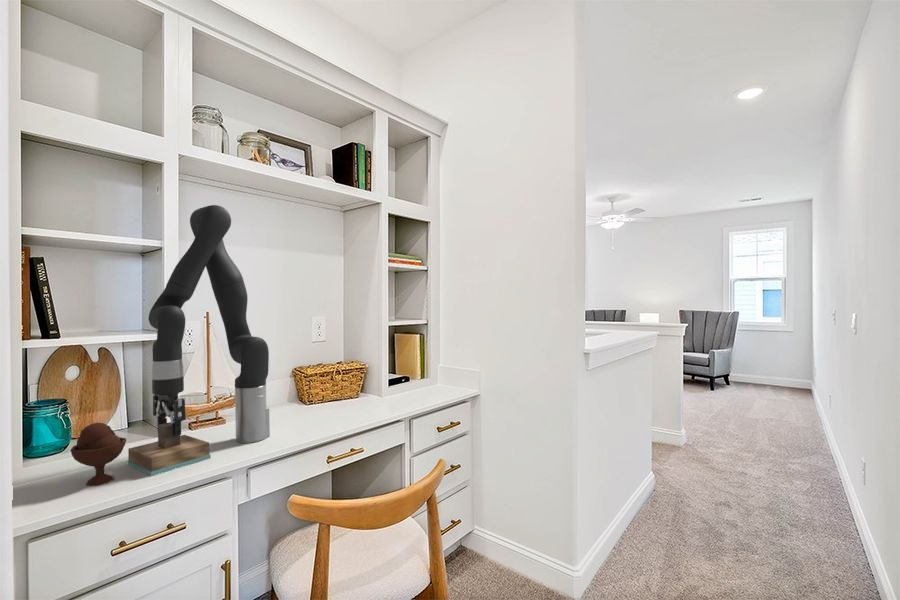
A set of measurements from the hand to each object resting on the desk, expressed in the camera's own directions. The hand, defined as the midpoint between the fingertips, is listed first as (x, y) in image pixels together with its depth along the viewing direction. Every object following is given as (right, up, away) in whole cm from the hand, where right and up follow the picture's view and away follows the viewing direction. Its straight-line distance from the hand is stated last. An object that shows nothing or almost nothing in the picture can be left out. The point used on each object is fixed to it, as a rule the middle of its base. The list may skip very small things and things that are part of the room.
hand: (169, 433), depth 124 cm
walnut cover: (0, -7, 0) cm, 7 cm away
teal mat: (0, -8, 0) cm, 8 cm away
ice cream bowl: (-9, -8, -13) cm, 18 cm away
